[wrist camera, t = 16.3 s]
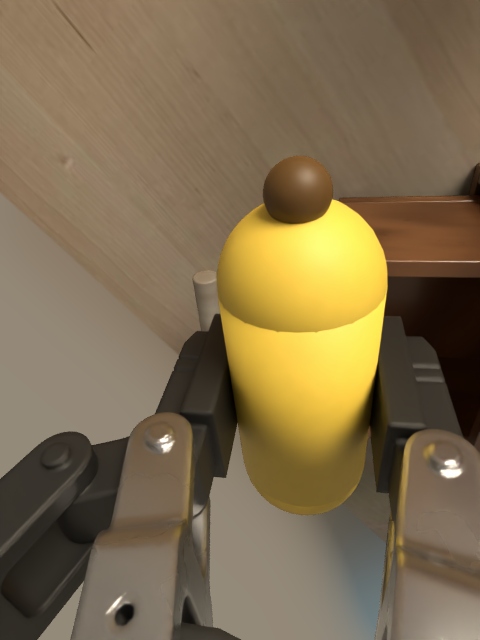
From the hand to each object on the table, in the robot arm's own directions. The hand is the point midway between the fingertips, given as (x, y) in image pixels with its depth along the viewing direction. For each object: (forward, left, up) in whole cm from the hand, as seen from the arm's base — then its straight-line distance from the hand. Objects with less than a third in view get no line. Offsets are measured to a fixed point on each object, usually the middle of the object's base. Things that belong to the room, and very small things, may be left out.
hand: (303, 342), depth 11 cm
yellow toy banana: (0, 0, 0) cm, 0 cm away
